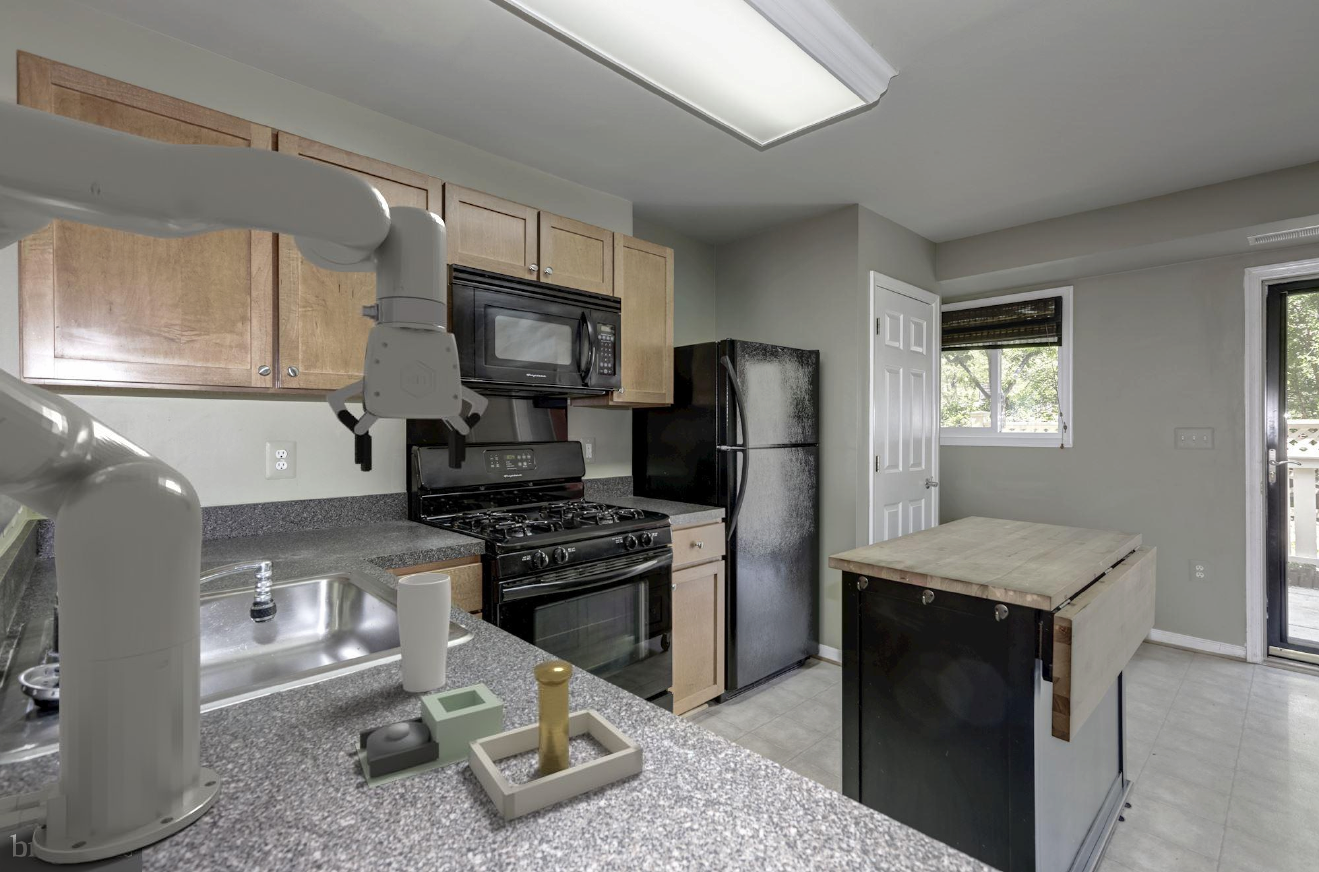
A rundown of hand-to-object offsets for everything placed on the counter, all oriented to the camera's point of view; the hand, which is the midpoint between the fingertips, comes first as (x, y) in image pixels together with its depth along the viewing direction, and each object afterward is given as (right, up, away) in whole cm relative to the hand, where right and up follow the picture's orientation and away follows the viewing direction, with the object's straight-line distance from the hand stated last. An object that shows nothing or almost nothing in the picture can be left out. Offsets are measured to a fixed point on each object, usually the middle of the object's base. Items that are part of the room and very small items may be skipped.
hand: (412, 469), depth 69 cm
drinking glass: (-3, -31, +12) cm, 33 cm away
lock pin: (+18, -30, -9) cm, 36 cm away
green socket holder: (+4, -30, -4) cm, 31 cm away
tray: (+18, -30, -9) cm, 36 cm away
